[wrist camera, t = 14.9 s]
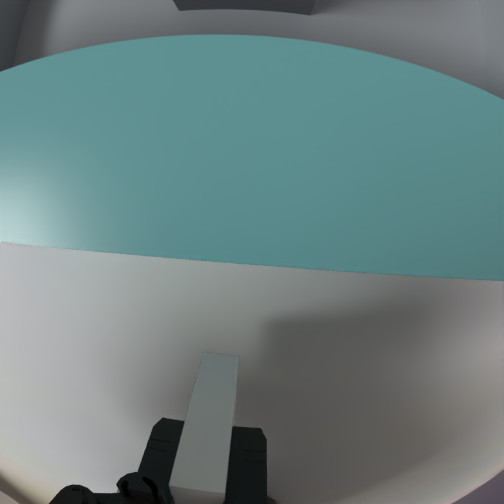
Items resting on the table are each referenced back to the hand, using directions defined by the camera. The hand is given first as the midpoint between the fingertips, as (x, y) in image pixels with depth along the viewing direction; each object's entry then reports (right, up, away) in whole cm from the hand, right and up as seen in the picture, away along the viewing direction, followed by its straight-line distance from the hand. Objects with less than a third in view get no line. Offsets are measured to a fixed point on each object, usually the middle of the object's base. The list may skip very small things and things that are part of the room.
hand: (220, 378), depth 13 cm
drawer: (+1, +18, -4) cm, 18 cm away
